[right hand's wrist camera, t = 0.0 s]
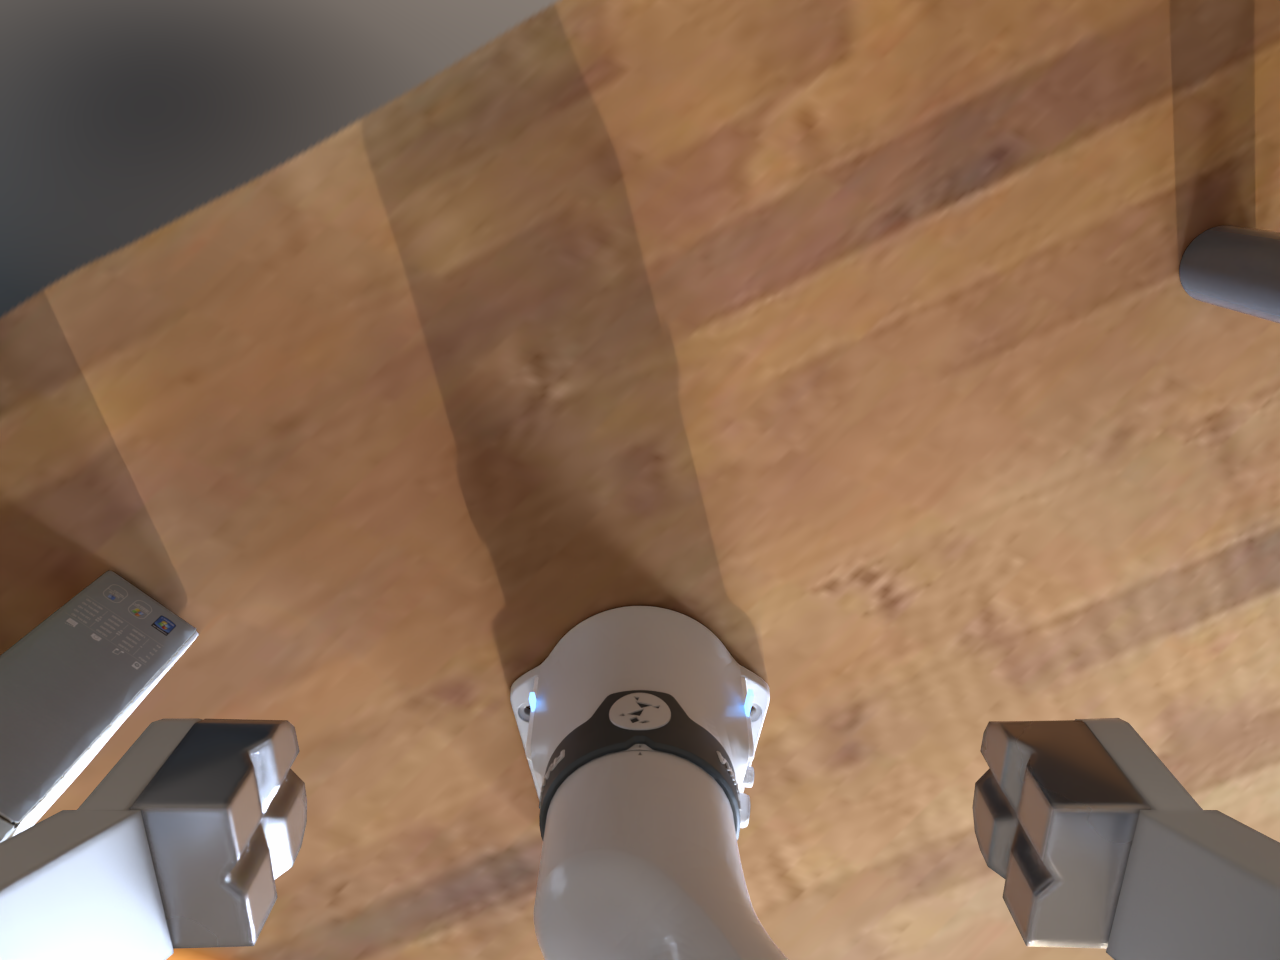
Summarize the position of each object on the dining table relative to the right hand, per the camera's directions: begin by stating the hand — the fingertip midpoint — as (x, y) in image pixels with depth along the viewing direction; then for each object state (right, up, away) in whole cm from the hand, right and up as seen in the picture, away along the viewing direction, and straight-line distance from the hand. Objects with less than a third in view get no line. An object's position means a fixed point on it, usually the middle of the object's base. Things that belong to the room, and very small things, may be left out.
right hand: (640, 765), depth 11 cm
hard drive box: (-39, -10, +55) cm, 68 cm away
